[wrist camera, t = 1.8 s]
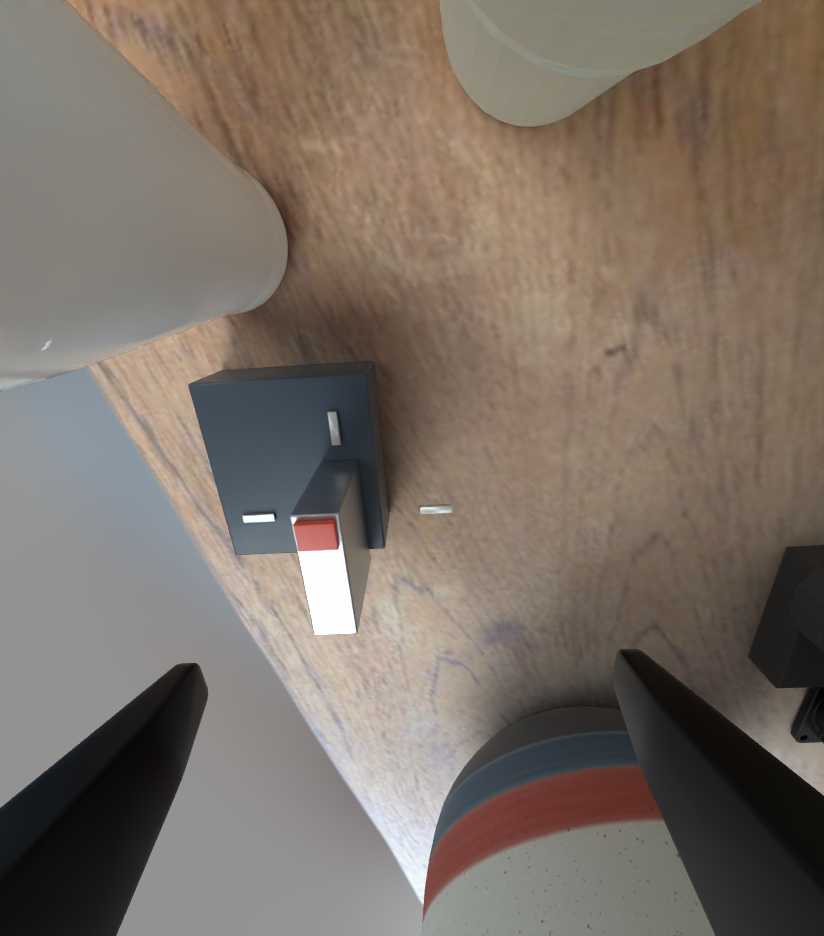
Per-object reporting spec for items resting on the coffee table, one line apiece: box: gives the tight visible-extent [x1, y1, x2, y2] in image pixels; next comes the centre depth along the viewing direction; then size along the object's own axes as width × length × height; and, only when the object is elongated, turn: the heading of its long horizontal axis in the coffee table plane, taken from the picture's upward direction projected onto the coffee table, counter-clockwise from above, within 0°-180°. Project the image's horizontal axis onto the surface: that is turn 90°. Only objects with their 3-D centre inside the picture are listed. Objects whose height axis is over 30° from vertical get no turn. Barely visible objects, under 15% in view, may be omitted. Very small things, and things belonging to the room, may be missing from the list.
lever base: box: [189, 361, 452, 555], centre depth 19 cm, size 11×10×3 cm
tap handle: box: [290, 460, 371, 635], centre depth 16 cm, size 5×2×5 cm, turn 4°
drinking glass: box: [0, 0, 288, 392], centre depth 10 cm, size 7×7×15 cm
